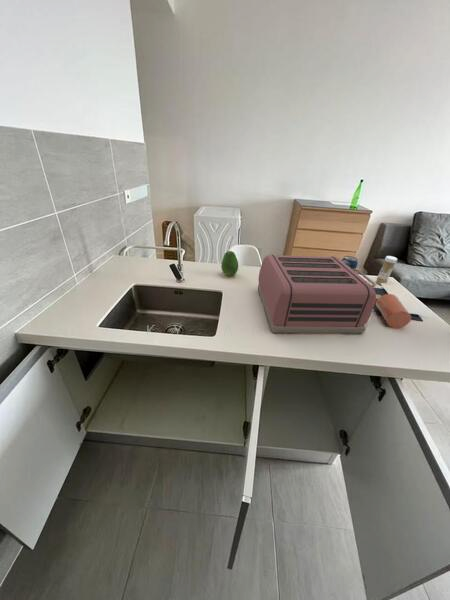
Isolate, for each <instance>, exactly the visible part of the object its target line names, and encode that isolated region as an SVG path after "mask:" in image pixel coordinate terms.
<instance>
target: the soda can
mask: <svg viewBox="0 0 450 600" xmlns="http://www.w3.org/2000/svg"><path fill="white" fill-rule="evenodd" d="M340 260H341V261H343V262H344V263H345V264H346V265H347V266H349V267H350V268H352V269H357V266H358V263H359V262H358V258H357V257H355V256H351V255H345V256H343V257H342V259H340Z"/></svg>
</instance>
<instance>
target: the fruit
mask: <svg viewBox="0 0 450 600" xmlns="http://www.w3.org/2000/svg"><path fill="white" fill-rule="evenodd" d="M220 267H221V271H222V273H223V274H224V275H225V276H227V277H233V276H235V275H236V274H237V273H238V271H239V260H238V259H237V255H236V253H235V252H234V251H232V250H227V251H226V252H225V253H224V255H223V258H222V260H221V265H220Z"/></svg>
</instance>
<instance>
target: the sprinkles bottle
mask: <svg viewBox="0 0 450 600" xmlns="http://www.w3.org/2000/svg"><path fill="white" fill-rule="evenodd" d="M397 262H398V258H397V257H395V256H392V255H386V256H385V258H384V261H383V264H382V266H381V268H380V271H379V272H378V275H377V278H376V280H375V284H376V285H379V286H382V284H387V282H388V280H389V278H390V276H391V274H392V272H393V269H394V267H395V265H396V263H397Z"/></svg>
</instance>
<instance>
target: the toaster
mask: <svg viewBox="0 0 450 600" xmlns="http://www.w3.org/2000/svg"><path fill="white" fill-rule="evenodd" d="M341 260H342V259H340V258H339V257H337V256H315V255H285V254H284V255H282V254H268V255H266V256H265V257H264V258H263V259H262V263H261V265H260V268H259V273H258V278H257V279H258V285H257V292H258V294H259V297H260V301H261V304H262V306H263V310H264V312H265V315H266V318H267V322H268V324H269V327H270V330H271V333H272V334H363V333H364V332H365V331H366V328H367V327H366V326H365V325H366V324H367V323H368V321H370V317H371V316H372V313H373V311H374V309H373V307H374V304H375V299H376V293H375V290H374V288H376V285H377V283H376V282H374V281H373V280H372V279H371V278H370V277H368V276H367V275H365V273H363V272H362V271H361V270H359V269H358V268H356V269H352V268H350V267H349V266H347V265H346V264H345V263H344V262H343V261H341ZM364 278H365V279H364ZM367 281H368V282H367ZM369 282H370V283H369ZM373 287H374V288H373Z"/></svg>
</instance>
